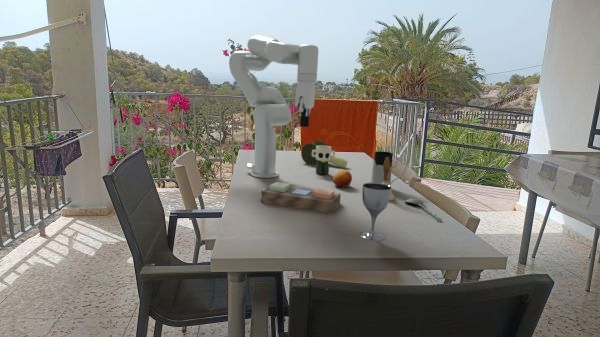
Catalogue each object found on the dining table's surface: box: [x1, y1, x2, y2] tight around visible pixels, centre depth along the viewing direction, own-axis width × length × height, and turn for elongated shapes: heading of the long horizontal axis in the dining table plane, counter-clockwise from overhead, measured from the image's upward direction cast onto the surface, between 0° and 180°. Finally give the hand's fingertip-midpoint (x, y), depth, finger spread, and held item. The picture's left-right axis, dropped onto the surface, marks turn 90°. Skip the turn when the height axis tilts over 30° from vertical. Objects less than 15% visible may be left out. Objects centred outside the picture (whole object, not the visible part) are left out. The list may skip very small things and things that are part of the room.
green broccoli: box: [300, 140, 348, 169], centre depth 208 cm, size 25×12×11 cm, turn 59°
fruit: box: [332, 169, 353, 188], centre depth 168 cm, size 8×8×8 cm
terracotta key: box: [314, 187, 335, 200], centre depth 139 cm, size 6×6×3 cm
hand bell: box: [382, 157, 396, 202], centre depth 153 cm, size 8×8×16 cm
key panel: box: [260, 185, 342, 215], centre depth 142 cm, size 26×12×4 cm, turn 70°
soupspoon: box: [404, 197, 442, 222], centre depth 141 cm, size 22×3×7 cm
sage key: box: [269, 181, 291, 192], centre depth 144 cm, size 6×6×3 cm
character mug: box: [312, 145, 336, 175], centre depth 187 cm, size 11×7×13 cm, turn 94°
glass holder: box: [370, 151, 408, 185], centre depth 167 cm, size 9×14×15 cm, turn 70°
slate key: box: [291, 189, 311, 196], centre depth 142 cm, size 6×6×3 cm
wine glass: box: [359, 182, 392, 242], centre depth 114 cm, size 8×8×15 cm
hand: (304, 126), depth 157 cm, fingers closed
